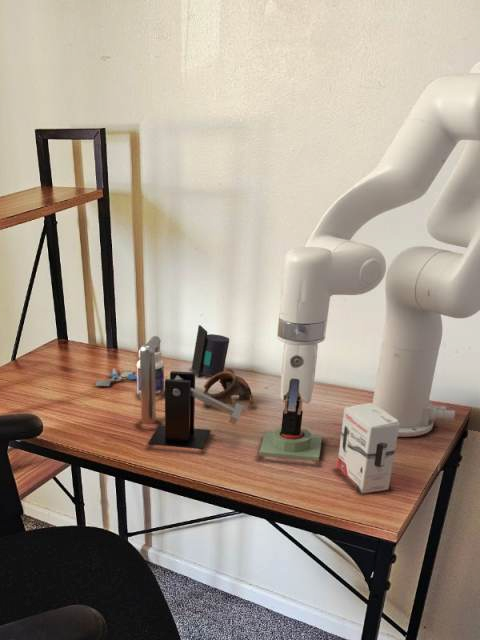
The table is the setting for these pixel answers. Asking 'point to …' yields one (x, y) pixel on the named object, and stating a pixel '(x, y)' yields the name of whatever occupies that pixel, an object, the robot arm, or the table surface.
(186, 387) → the black lever stand
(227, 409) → the tap lever
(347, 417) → the ink box
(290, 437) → the button
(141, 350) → the spout
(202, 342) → the speaker
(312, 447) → the button housing
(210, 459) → the table surface
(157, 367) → the pill bottle
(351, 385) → the table surface
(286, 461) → the table surface
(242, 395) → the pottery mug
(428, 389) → the robot arm
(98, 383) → the key chain
